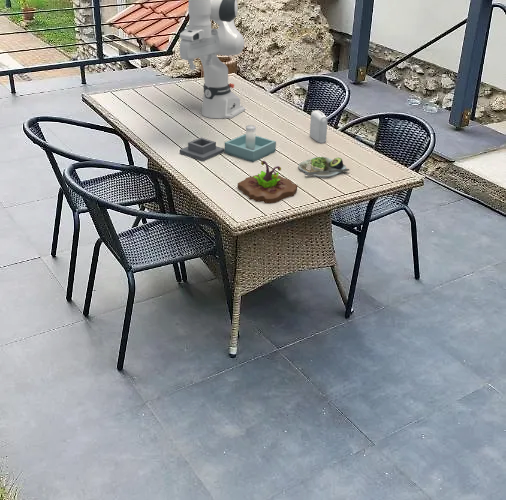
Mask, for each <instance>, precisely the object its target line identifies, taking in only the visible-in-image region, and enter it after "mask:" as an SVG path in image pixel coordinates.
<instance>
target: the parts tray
mask: <svg viewBox="0 0 506 500" xmlns="http://www.w3.org/2000/svg"><path fill="white" fill-rule="evenodd" d="M276 146H277V141H275V140H273V139H269V138H265V137H262V136H259V135H256V137H255V150H250V149H247V148H246V133H245V134H242V135H239V136H237V137H235V138H232V139H229V140H228V141H225V142H224V154H227V155H228V156H229V155H230V156H233V157H236V158H239V159H242V160H246V161H247V162H251V163H254V162H256V161H259V160H261V159H263V158H266V157H268V156H269V155H273V154H274V153H276V152H277V151H276V150H277V149H276V148H277V147H276Z"/></svg>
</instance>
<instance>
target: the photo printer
mask: <svg viewBox="0 0 506 500" xmlns="http://www.w3.org/2000/svg"><path fill="white" fill-rule="evenodd" d="M309 124H310V125H309V126H310V127H309V137H311V138H312V139H313V140H315V141H316V142H317V143H320V144H324V143H326V142H327V133H328V132H327V131H328V117H327V116H326V115H325V113H324V112H323V111H321V110H317V109H316V110H312V112H311V113H310V123H309Z"/></svg>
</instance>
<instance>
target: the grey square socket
mask: <svg viewBox="0 0 506 500" xmlns="http://www.w3.org/2000/svg"><path fill="white" fill-rule="evenodd" d="M216 144H217V142H216V141H213V140H211V139H207V138H204V137H199V138H197V139H194V140H192V141H191V140H190V141H189V142H187V146H185V147H183V148H180V149H179V154H180V155H184V156H187V157H189V158H192V159H195V160H198V161H201V162H205V161H207V160H209V159H212V158H214V157H216V156H219V155H221V154H223V153H224V154H225V148H223V147H220V146H217V145H216Z"/></svg>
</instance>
